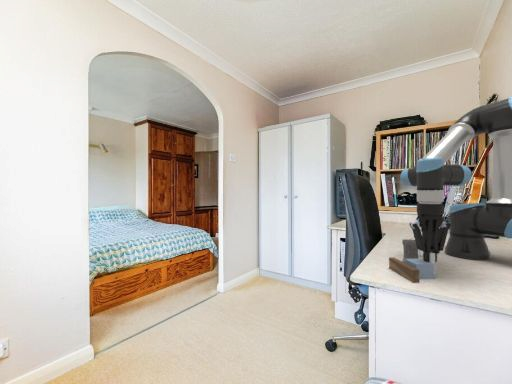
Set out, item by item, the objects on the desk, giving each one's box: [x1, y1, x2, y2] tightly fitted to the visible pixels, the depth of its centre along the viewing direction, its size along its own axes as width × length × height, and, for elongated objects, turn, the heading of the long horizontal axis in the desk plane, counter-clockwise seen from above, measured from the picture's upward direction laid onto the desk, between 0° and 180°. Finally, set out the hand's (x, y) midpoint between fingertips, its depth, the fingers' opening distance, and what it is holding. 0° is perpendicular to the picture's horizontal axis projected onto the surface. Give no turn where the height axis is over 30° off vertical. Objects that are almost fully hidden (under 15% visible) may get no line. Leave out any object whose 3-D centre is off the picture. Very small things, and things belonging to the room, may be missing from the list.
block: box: [405, 258, 435, 280], centre depth 82 cm, size 6×6×5 cm
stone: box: [401, 238, 420, 263], centre depth 93 cm, size 3×6×10 cm, turn 70°
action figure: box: [406, 233, 423, 257], centre depth 107 cm, size 6×4×12 cm, turn 36°
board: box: [388, 257, 420, 283], centre depth 83 cm, size 2×14×4 cm, turn 179°
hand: (430, 271), depth 82 cm, fingers closed
